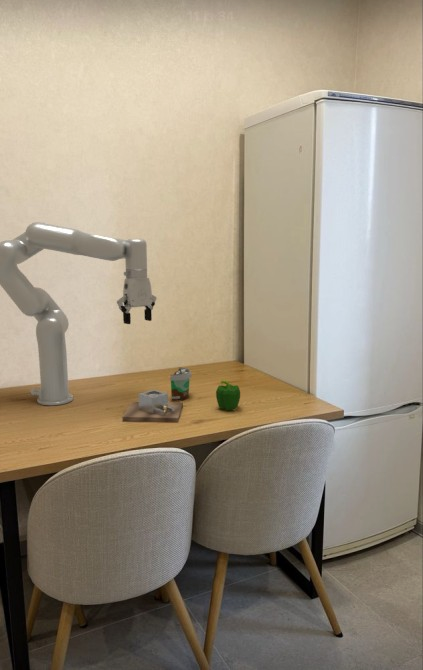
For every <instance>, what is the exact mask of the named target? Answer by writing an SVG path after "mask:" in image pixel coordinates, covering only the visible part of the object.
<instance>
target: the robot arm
mask: <svg viewBox="0 0 423 670" xmlns="http://www.w3.org/2000/svg"><path fill="white" fill-rule="evenodd" d="M147 247H148V246H147V241H146V240H145V239H141V238H130V239H122V238H114V237H112V238H111V237H105V236H102V235H95V234H90V233H88V232H87V233H86V232H83V231H81V230H78V229H75V228H71V227H70V228H69V227H66V226H65V227H64V226H58V225H56V224H55V225H54V224H50V223H45V222H39V221H38V222H37V221H36V222H32V223H31V224H29V225H28V226H27V227H26V229H25V232H23V233H21V234H19V235H17V236H16V237H15V238H13V239H10V240H9V239H7V240H3V241H0V286H1V288H3V290H4V292H5V293H6V294H7V295H8V297H9V298H10V299H11V301H13V302H14V305H16V307H17V308H18V309H19V311H20V312H21V313H22V314H24V315H25V316H26V317H33V318H34V319H36V321H37V325H36V326H35V337H36V341H37V343H36V344H37V349H38V350H37V351H38V352H37V353H38V361H39V379H40V388H30V391H29V393H30V395H31V396H37V400H36V402H37V403H38V404H39V405H41V406H59V405H64V404H68V403H70V402H72V401H74V395H73V394H72V393H70V392H69V378H68V377H69V374H68V372H69V371H68V358H67V357H68V356H67V344H66V336H65V335H66V332H67V331H68V329H69V319H68V317H67V315H66V314H65V312H64V311H63V310H62V309H61V307H60V306H59V304H57V302H56V301H55V300H54V299H53V297H51V295H50V293H48V292H47V291H46V290H45V289H43V288H41V287H36V286H34V285H33V284H32V283H31V282H30V280H29V278H28V277H27V276H26V275H25V274H24V273H23V272H22V271H21V270H20V269H19V267H18V265H19V264H22V263H24V262H26V261H27V260H29V259H30V258H32V257H34V256H36V255H37V254H38V253H40V252H42V251H43V250H49V251H56V252H61V253H64V254H65V253H66V254H71V255H75V256H76V255H77V256H84V257H89V258H94V259H100V260H105V261H111V262H115V261H119V260H123V259H124V262H125V271H124V272H123V276H124V277H125V279H124V282H123V290H122V297H120V298H119V299H118V300H117V301H116V305H117V306H118V308H119V310H120V311H121V313H122V315H123V317H122V318H123V319H122V320H123V324H124V325H125V324H126V325H131V324H132V323H131V313H130V311H131V309H132V308H141V307H144V308H145V309H144V312H143V313H144V320H145V321H148V322H151V321H152V320H153V319H152V310H153V309H154V306H155V305H156V300H157V296H155V295H154V294H152V285H151V279H150V277H148V253H147V251H148V250H147V249H148V248H147Z"/></svg>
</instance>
